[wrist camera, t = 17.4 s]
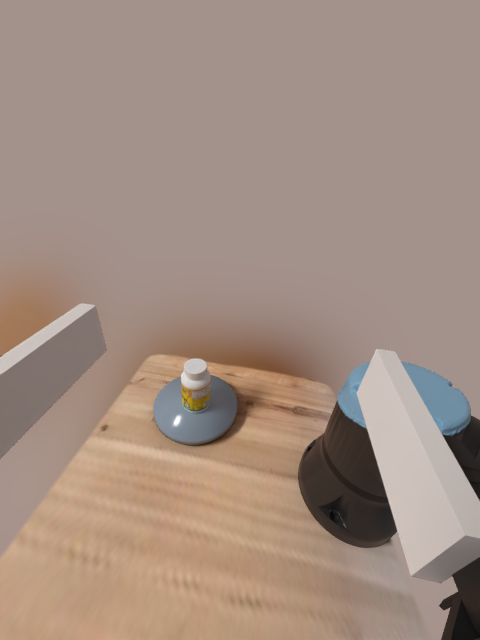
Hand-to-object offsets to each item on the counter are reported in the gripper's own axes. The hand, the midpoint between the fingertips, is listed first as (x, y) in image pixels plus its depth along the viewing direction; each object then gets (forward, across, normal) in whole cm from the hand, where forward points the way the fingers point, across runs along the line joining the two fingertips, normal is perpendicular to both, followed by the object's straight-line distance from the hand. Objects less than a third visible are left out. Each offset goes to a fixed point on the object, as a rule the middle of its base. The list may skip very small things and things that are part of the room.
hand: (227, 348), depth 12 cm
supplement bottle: (+23, -9, -33) cm, 42 cm away
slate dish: (+23, -9, -35) cm, 43 cm away
